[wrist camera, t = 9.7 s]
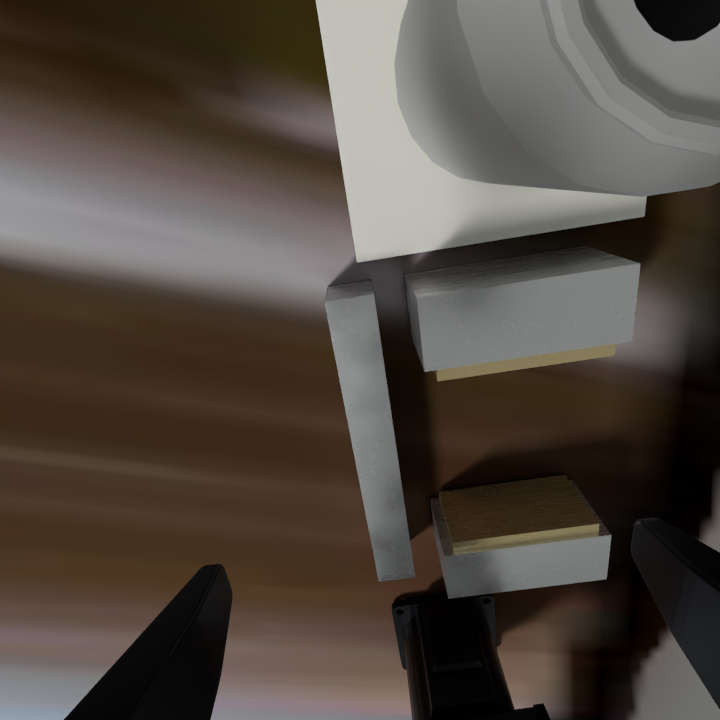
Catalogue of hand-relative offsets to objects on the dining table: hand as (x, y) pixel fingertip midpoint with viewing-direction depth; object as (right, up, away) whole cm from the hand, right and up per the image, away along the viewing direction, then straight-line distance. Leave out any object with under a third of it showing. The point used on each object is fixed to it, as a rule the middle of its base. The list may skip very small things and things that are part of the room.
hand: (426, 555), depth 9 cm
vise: (+4, +1, +13) cm, 14 cm away
